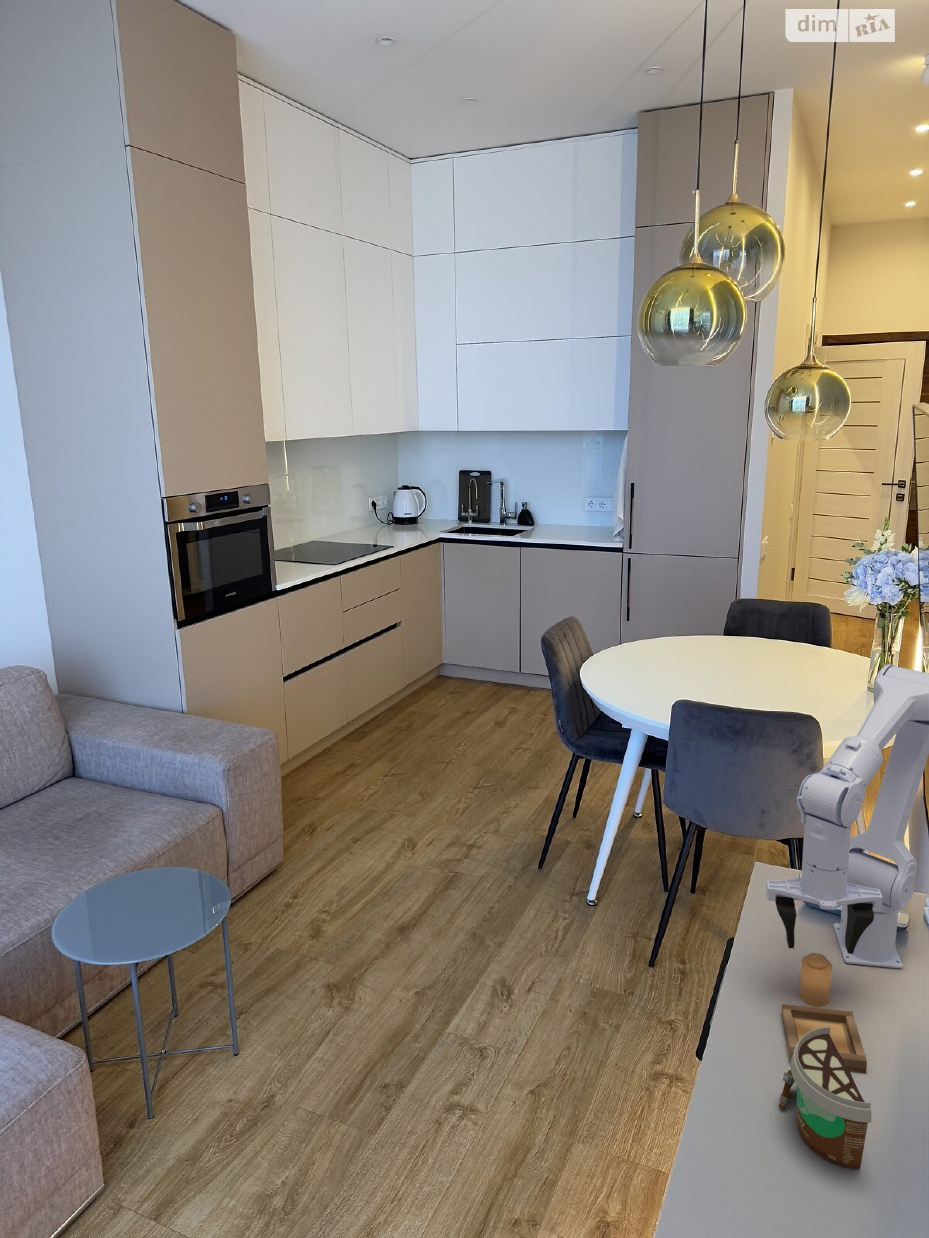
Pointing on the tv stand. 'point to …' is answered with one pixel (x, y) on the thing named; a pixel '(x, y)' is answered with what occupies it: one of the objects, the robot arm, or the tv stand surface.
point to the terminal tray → (841, 1031)
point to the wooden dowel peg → (815, 980)
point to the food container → (828, 1101)
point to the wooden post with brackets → (787, 1090)
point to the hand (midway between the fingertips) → (819, 946)
